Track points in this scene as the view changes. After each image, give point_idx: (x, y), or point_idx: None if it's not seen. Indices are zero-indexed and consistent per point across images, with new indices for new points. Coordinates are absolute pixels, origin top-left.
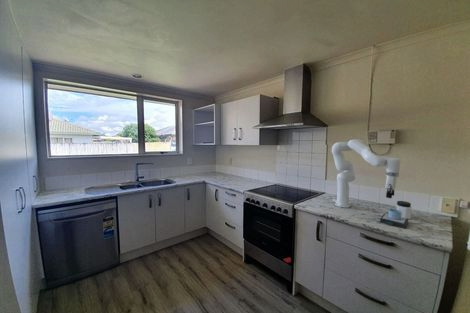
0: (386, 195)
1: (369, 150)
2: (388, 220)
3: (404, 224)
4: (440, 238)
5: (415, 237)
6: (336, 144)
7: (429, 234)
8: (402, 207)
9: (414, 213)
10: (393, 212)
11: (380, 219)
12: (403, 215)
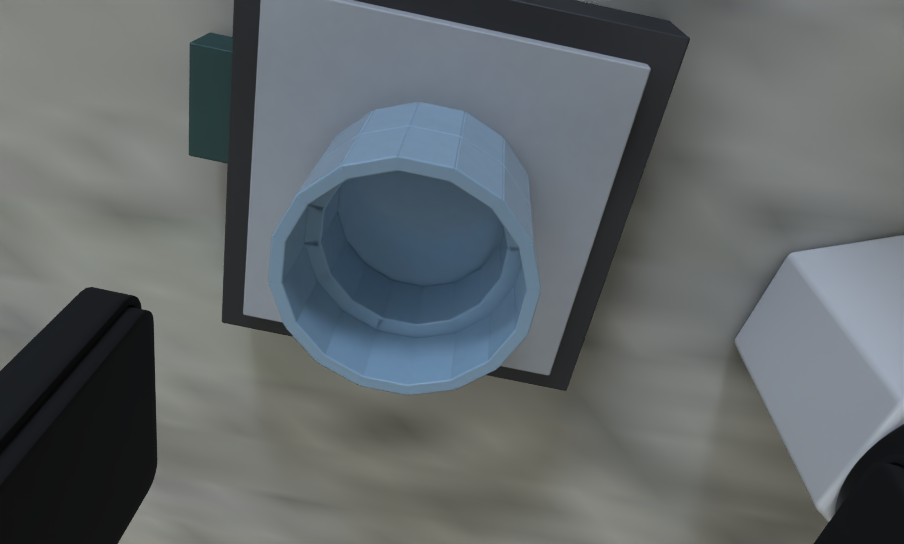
0: (19, 367)
1: None
2: (230, 91)
3: (224, 307)
4: (209, 532)
5: (8, 342)
6: None
7: (253, 477)
8: (845, 449)
9: None
10: (275, 243)
11: None
12: (766, 353)
